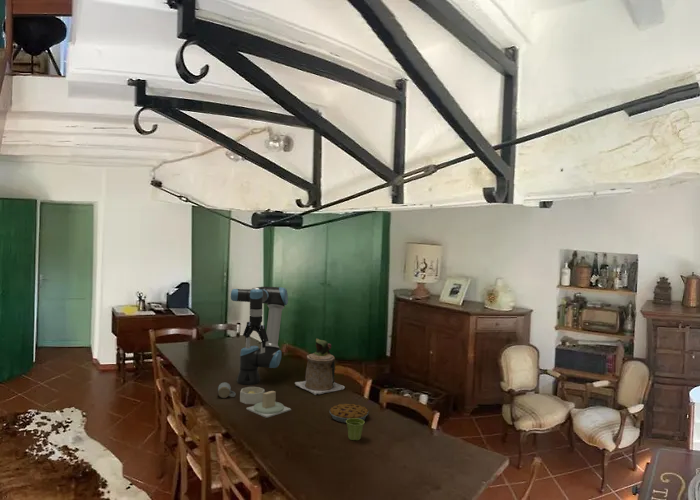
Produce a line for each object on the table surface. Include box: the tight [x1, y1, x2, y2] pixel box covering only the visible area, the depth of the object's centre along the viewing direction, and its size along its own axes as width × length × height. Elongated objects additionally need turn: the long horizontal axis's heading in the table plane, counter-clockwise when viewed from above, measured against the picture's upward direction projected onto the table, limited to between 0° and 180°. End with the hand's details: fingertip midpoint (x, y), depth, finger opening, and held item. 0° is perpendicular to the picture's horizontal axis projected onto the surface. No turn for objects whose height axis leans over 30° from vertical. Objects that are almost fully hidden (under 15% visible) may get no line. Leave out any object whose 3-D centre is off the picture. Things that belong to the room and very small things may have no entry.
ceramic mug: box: [217, 382, 236, 399], centre depth 330 cm, size 11×8×8 cm
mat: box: [246, 405, 292, 419], centre depth 310 cm, size 18×18×1 cm
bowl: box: [239, 386, 266, 405], centre depth 325 cm, size 14×14×6 cm
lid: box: [253, 390, 285, 414], centre depth 310 cm, size 17×17×9 cm
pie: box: [329, 403, 369, 424], centre depth 304 cm, size 22×22×5 cm
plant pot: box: [346, 418, 366, 441], centre depth 275 cm, size 9×9×9 cm
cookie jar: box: [294, 338, 346, 396], centre depth 354 cm, size 25×25×32 cm
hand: (255, 350), depth 326 cm, fingers open, 13 cm apart
